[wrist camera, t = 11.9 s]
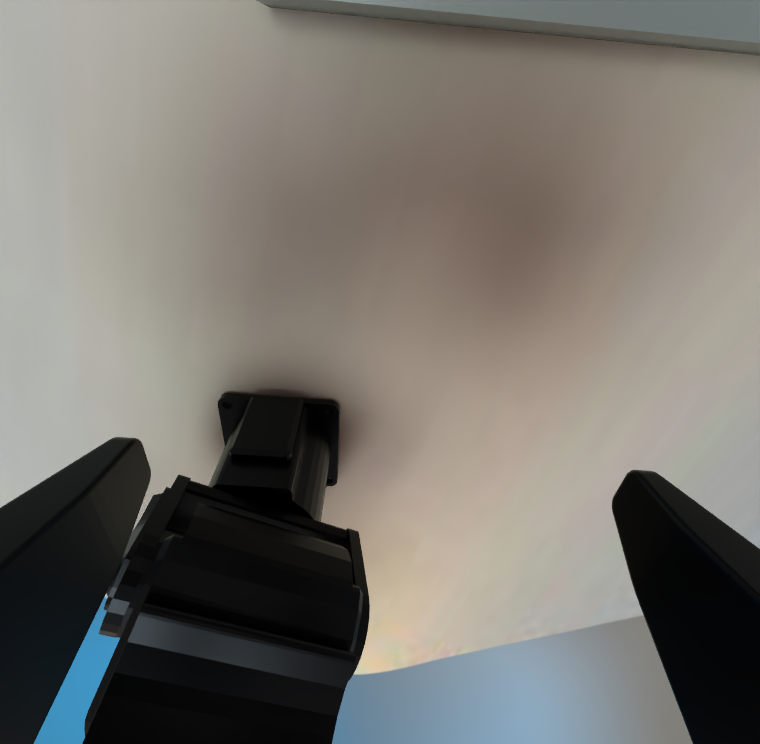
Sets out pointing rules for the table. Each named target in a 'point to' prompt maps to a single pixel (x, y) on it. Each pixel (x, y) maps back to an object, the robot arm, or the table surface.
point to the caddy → (576, 18)
